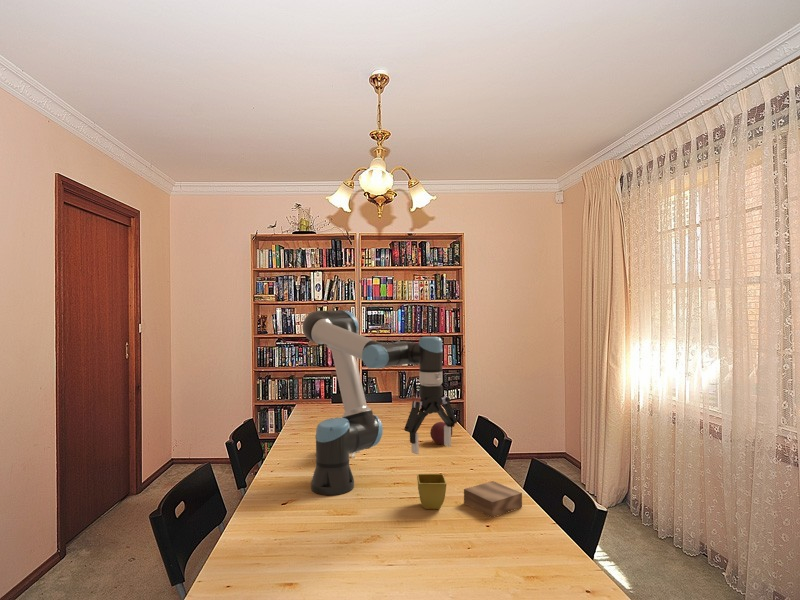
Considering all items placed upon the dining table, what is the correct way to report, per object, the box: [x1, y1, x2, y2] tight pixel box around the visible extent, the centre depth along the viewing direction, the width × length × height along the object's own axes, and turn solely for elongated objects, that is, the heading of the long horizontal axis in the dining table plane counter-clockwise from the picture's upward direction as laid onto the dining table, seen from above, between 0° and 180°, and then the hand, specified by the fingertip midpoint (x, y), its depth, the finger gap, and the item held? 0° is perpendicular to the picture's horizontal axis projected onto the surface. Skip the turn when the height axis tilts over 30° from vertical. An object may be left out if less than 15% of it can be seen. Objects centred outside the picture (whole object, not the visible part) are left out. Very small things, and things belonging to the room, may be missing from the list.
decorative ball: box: [429, 421, 453, 445], centre depth 230 cm, size 10×10×10 cm
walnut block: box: [463, 480, 523, 518], centre depth 160 cm, size 13×13×5 cm
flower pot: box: [416, 473, 448, 510], centre depth 160 cm, size 9×9×9 cm
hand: (431, 449), depth 162 cm, fingers open, 13 cm apart
